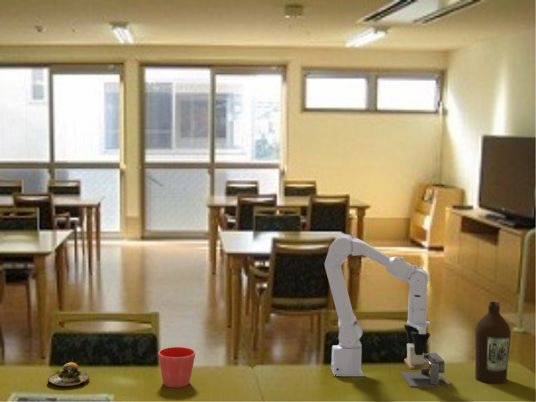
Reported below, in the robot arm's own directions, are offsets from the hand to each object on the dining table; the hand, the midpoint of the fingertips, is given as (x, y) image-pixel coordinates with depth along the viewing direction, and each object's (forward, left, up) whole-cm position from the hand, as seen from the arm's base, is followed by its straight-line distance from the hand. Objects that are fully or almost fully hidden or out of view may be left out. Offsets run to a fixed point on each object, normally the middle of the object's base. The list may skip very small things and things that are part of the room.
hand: (415, 351), depth 216 cm
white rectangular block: (0, 0, -1) cm, 1 cm away
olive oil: (+24, +2, -9) cm, 26 cm away
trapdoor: (+3, 0, -6) cm, 6 cm away
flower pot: (-74, -6, -9) cm, 74 cm away
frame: (+6, 0, -9) cm, 11 cm away
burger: (-106, -6, -10) cm, 106 cm away
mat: (+2, 0, -9) cm, 9 cm away
